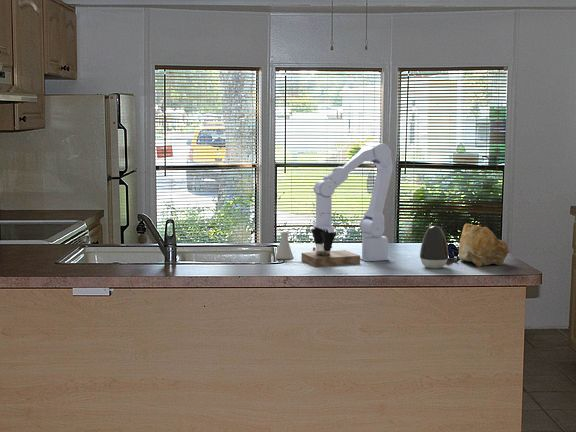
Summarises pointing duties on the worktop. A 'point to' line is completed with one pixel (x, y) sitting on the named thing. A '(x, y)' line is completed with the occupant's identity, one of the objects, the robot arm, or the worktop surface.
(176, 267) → the worktop surface
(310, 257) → the wooden block with hole
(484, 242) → the rough brown rock
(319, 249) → the white small cylinder
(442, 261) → the grey egg shaped speaker
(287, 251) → the flask
